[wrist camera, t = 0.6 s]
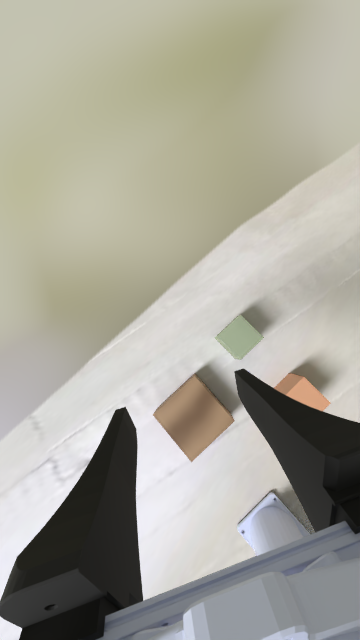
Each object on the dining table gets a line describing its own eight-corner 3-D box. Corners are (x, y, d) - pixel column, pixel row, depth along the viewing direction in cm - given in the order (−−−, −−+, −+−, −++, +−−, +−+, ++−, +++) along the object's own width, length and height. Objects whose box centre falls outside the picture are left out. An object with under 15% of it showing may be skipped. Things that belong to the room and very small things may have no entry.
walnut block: (230, 413, 36) (234, 420, 32) (192, 449, 35) (191, 462, 31) (194, 373, 37) (194, 375, 33) (157, 407, 37) (152, 414, 33)
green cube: (254, 339, 37) (263, 337, 32) (234, 358, 37) (240, 359, 32) (234, 319, 38) (240, 314, 33) (214, 337, 38) (217, 336, 33)
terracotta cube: (311, 395, 35) (330, 402, 30) (290, 416, 35) (306, 427, 30) (289, 373, 36) (303, 376, 31) (268, 393, 35) (280, 400, 31)
